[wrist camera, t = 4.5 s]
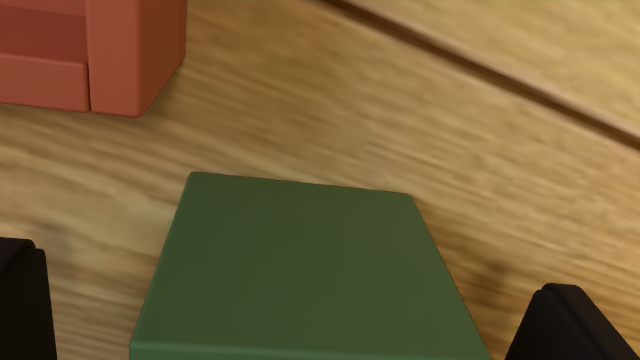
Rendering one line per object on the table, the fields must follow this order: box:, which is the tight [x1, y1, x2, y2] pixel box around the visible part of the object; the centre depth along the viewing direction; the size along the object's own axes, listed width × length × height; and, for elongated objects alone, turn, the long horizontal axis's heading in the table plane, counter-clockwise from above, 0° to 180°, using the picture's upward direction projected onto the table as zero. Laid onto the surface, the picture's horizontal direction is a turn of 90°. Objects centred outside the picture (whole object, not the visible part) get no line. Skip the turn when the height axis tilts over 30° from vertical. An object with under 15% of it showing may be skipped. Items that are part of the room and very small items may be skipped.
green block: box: [129, 172, 493, 360], centre depth 9 cm, size 4×4×4 cm
